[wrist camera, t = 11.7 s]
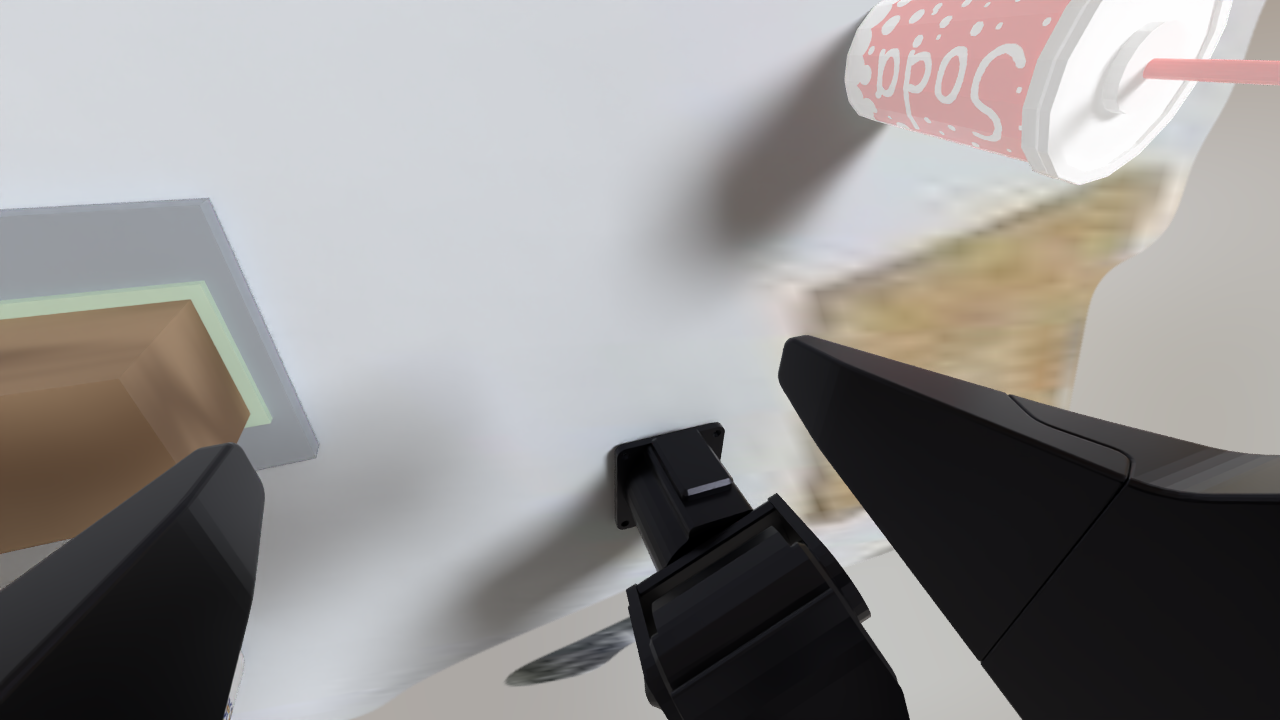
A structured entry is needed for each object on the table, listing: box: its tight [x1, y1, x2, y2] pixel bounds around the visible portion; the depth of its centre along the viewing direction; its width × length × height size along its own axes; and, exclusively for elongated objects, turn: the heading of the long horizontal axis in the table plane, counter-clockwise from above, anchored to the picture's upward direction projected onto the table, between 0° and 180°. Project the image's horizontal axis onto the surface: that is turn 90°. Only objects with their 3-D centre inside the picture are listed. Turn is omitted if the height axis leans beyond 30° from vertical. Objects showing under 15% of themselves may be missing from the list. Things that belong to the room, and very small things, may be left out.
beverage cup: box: [844, 0, 1280, 185], centre depth 15 cm, size 6×6×14 cm
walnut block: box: [0, 299, 251, 554], centre depth 14 cm, size 4×4×4 cm
